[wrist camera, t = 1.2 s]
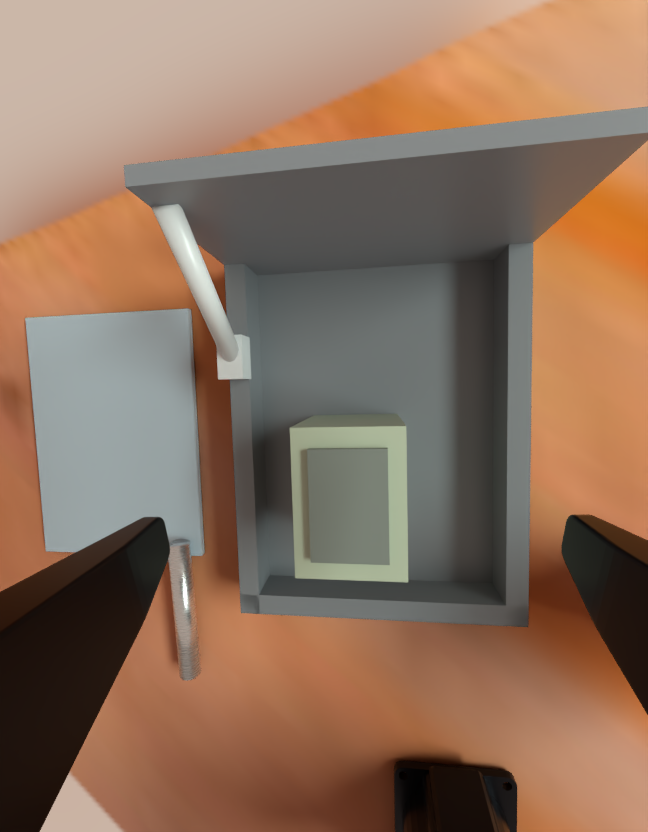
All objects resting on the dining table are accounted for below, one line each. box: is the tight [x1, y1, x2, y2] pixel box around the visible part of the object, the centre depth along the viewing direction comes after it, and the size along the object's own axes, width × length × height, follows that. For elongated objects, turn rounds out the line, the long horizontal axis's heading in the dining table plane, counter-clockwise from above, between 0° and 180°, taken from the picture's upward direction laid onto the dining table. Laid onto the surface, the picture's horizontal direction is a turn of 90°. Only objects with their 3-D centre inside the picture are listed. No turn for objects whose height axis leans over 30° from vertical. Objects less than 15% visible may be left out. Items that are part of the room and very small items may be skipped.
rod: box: [168, 539, 201, 680], centre depth 22 cm, size 8×1×1 cm, turn 2°
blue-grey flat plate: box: [25, 309, 205, 556], centre depth 23 cm, size 14×10×1 cm
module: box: [290, 414, 408, 582], centre depth 18 cm, size 6×4×6 cm
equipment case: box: [124, 107, 648, 627], centre depth 16 cm, size 18×14×10 cm
